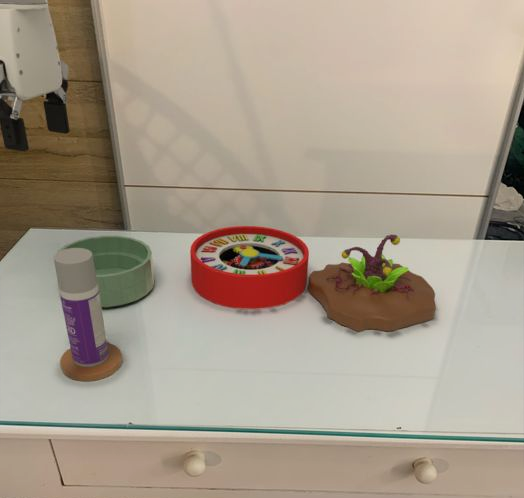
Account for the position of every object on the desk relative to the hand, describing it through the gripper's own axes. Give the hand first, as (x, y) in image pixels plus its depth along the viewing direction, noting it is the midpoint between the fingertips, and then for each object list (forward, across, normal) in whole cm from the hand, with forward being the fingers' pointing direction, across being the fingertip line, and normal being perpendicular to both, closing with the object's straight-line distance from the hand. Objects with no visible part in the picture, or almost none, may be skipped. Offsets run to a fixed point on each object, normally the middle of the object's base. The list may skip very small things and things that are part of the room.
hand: (39, 140), depth 76 cm
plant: (+24, -15, +48) cm, 56 cm away
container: (+23, +15, +13) cm, 31 cm away
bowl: (+24, -5, +5) cm, 25 cm away
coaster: (+24, +15, +13) cm, 32 cm away
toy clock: (+24, -15, +27) cm, 39 cm away
